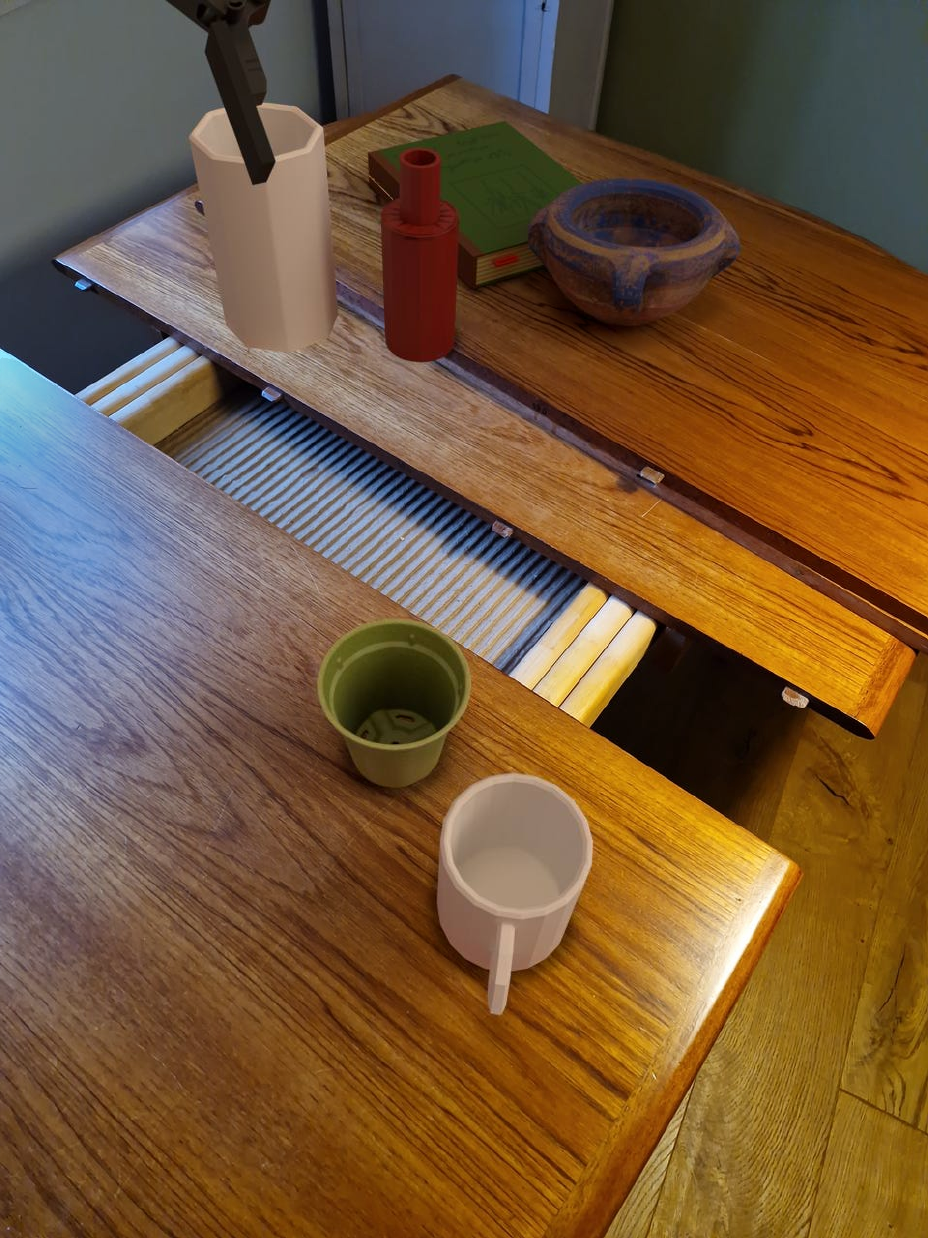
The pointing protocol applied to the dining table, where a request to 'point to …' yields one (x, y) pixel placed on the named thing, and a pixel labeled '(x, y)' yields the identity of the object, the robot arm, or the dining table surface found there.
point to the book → (485, 195)
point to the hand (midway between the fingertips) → (130, 204)
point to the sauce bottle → (419, 262)
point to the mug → (510, 874)
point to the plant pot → (394, 696)
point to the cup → (270, 230)
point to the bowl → (632, 247)
